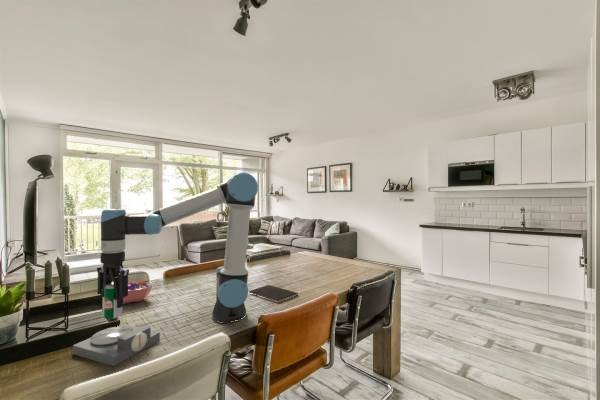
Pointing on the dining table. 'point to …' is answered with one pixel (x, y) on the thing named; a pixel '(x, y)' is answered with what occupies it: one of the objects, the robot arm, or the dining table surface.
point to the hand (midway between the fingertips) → (112, 314)
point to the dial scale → (118, 346)
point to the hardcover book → (273, 293)
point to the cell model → (137, 291)
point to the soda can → (109, 301)
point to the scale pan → (109, 335)
